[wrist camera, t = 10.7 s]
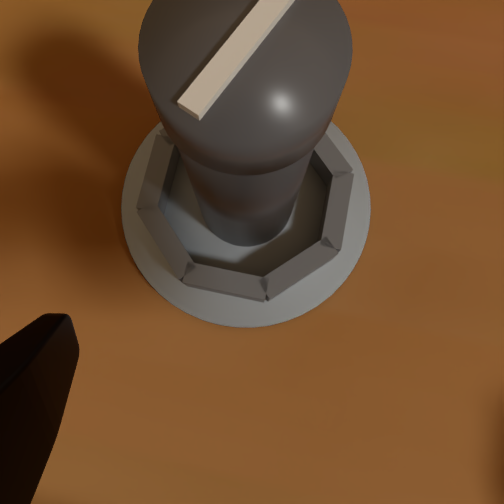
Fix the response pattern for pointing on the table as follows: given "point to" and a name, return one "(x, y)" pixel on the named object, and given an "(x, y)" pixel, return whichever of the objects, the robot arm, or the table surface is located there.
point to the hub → (245, 258)
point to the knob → (245, 100)
